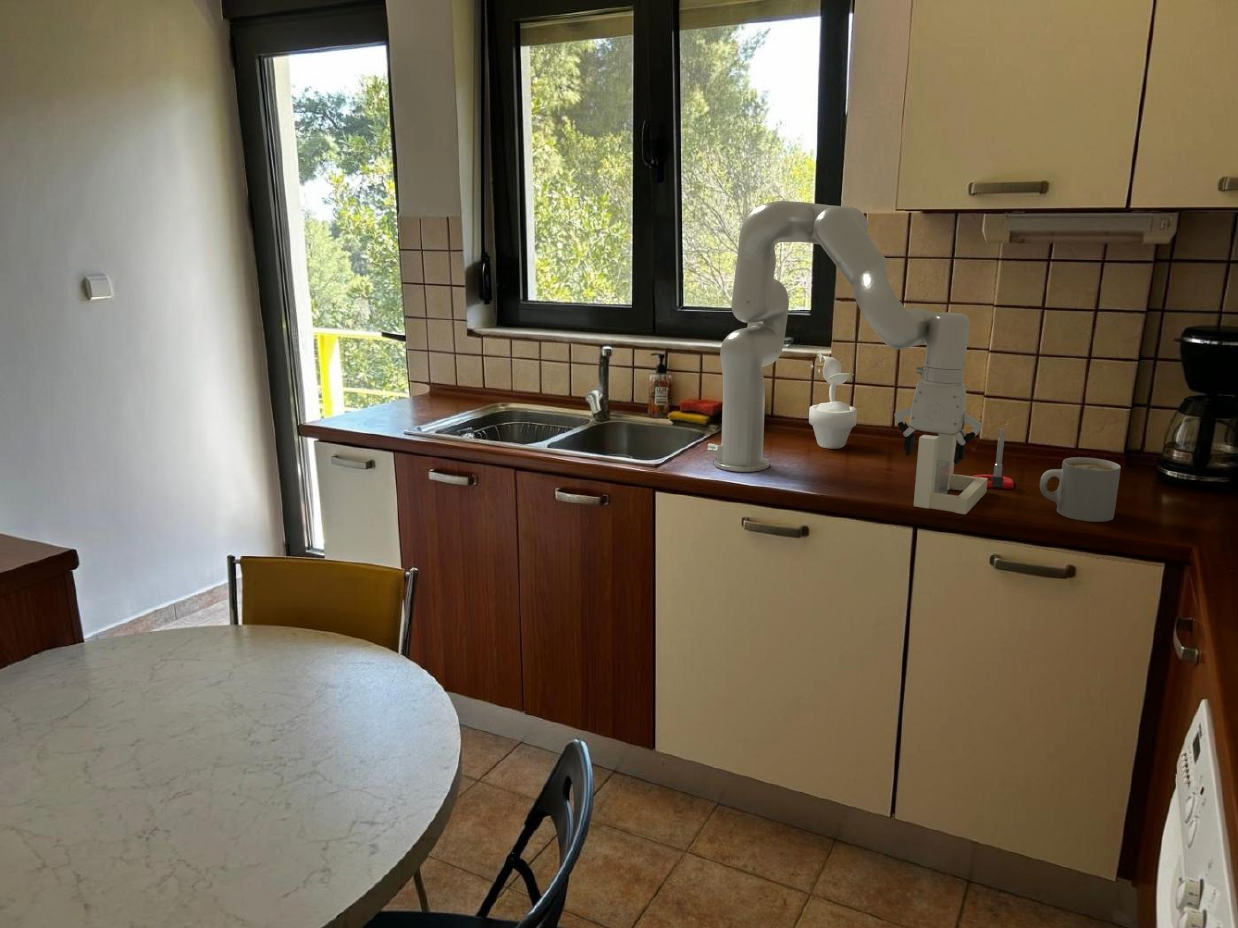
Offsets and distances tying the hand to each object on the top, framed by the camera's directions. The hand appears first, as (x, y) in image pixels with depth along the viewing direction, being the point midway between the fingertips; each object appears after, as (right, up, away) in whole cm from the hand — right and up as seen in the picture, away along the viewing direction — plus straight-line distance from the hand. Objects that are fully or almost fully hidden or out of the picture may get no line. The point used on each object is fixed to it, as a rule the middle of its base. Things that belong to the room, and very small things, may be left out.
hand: (932, 458), depth 187 cm
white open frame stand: (+4, -8, 0) cm, 9 cm away
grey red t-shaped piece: (+17, -6, +11) cm, 21 cm away
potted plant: (-11, +3, +43) cm, 45 cm away
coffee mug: (+25, -11, -9) cm, 28 cm away
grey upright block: (+1, -8, +2) cm, 8 cm away
